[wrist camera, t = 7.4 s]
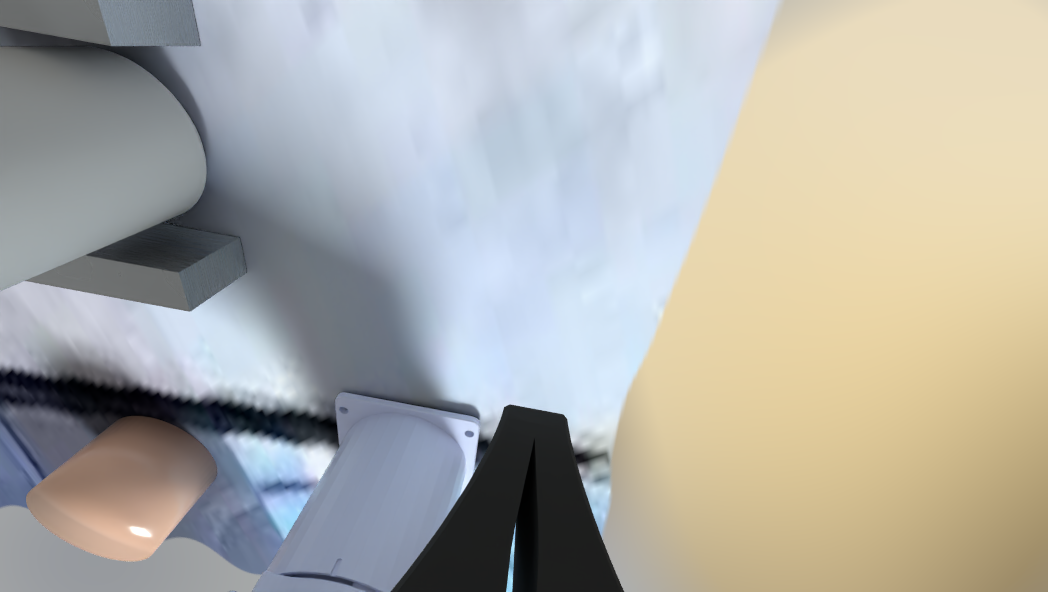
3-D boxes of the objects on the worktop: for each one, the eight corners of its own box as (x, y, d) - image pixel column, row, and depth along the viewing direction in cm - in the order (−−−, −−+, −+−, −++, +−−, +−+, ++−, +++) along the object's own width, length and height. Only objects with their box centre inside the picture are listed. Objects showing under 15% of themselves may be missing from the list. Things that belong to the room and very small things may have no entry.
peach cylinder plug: (226, 496, 30) (168, 570, 26) (130, 476, 30) (56, 547, 26) (204, 427, 27) (133, 500, 22) (95, 405, 27) (3, 474, 23)
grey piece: (246, 272, 20) (190, 311, 17) (22, 230, 21) (-73, 262, 18) (188, -15, 15) (88, -30, 12) (-122, -69, 15) (-299, -98, 12)
